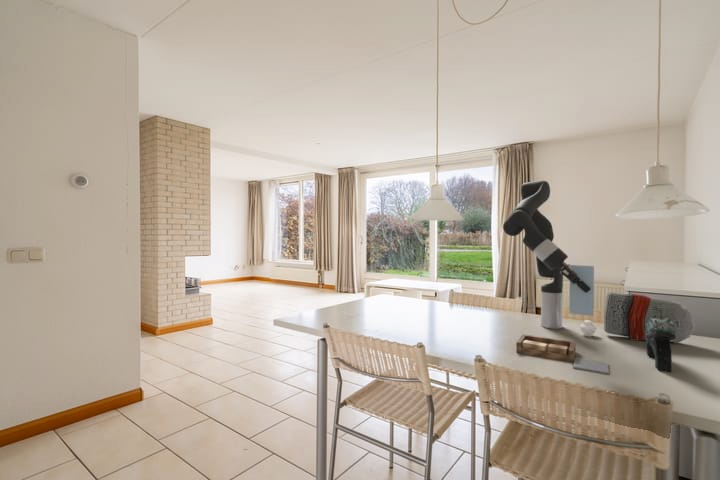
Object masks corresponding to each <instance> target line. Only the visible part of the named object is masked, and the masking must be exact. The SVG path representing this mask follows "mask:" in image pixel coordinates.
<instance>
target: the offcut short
mask: <svg viewBox="0 0 720 480" xmlns="http://www.w3.org/2000/svg"><path fill="white" fill-rule="evenodd" d="M548 352H553V353H559V354H565V355H568V347H567V346H561V345H555V344H549V346H548Z"/></svg>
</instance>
